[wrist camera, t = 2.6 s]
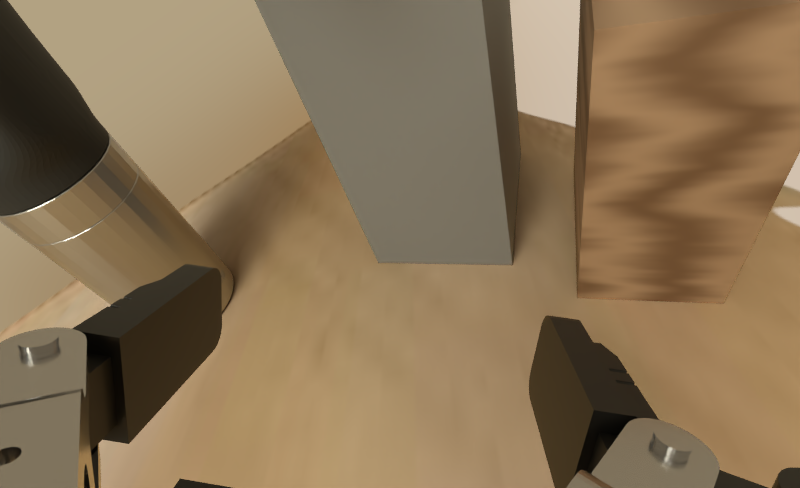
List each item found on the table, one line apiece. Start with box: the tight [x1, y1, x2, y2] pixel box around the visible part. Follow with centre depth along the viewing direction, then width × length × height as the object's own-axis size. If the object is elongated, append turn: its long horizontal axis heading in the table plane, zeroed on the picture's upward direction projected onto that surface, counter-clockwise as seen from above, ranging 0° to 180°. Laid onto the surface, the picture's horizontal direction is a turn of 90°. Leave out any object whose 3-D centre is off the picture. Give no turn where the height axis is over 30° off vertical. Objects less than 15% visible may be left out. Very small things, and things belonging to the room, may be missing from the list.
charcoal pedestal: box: [255, 0, 521, 265], centre depth 33 cm, size 12×14×32 cm
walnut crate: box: [574, 0, 800, 303], centre depth 30 cm, size 10×14×21 cm
